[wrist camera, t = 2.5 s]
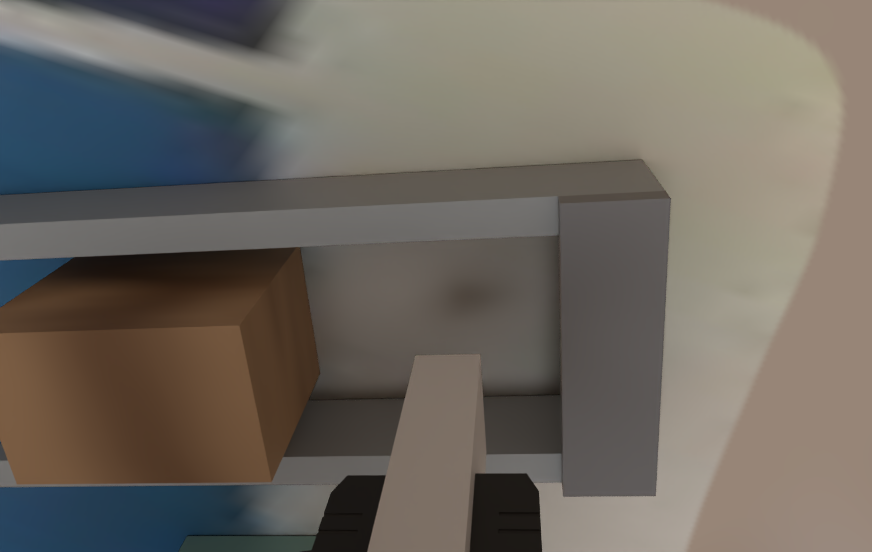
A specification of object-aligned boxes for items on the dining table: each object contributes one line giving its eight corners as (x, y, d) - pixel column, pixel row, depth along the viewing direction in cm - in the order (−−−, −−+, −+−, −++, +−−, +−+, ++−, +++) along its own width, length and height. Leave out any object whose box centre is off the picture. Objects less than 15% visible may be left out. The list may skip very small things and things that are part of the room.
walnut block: (117, 376, 24) (17, 484, 19) (81, 252, 22) (-40, 334, 17) (320, 371, 23) (271, 482, 18) (299, 242, 22) (239, 325, 17)
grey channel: (49, 430, 25) (-20, 500, 22) (-31, 197, 22) (-126, 237, 19) (633, 420, 23) (655, 495, 20) (642, 159, 20) (670, 198, 16)
